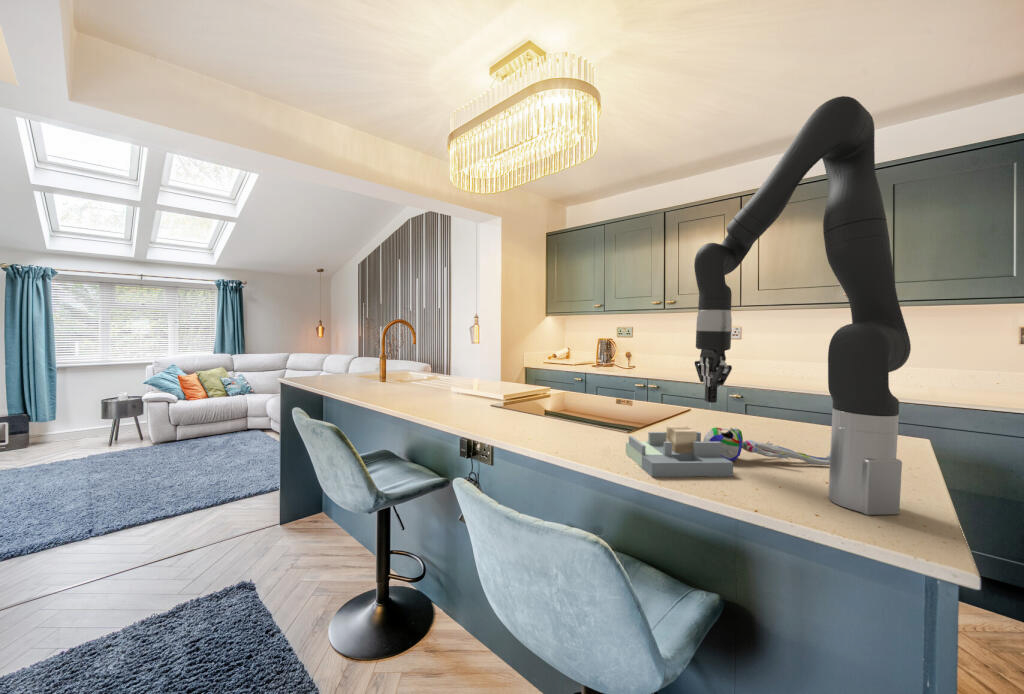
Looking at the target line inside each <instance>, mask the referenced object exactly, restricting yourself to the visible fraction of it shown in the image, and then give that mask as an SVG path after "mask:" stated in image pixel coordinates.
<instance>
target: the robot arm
mask: <svg viewBox="0 0 1024 694" xmlns="http://www.w3.org/2000/svg"><path fill="white" fill-rule="evenodd" d="M874 122H875V121H874V119H873V116H872V115H871V113H870V112H869V111H868V110H867V109H866V107H864V106H863V104H861V102H860V101H858V100H857V99H856V98H854V97H852V96H846V95H845V96H844V95H842V96H837V97H834V98H831V99H828V100H827V101H825V102H824V103H822V104H821V105H819V106H818V107H817V108H816V109H815V110H814V112H812V113H811V115H810V116H809V117H808V119H807V120H806V122H805V123H804V124H803V126H802V127H801V129H800V130H799V132H798V133H797V135H795V138H794V139H793V141H792V142H791V144H790V145H789V146H788V148H787V150H785V152H784V153H783V155H782V157H781V158H780V159H779V161H778V162H777V164H776V165H775V167H774V168H773V170H771V172H770V173H769V175H768V176H767V178H766V179H765V181H764V182H762V184H761V185H760V187H759V188H758V189H757V191H756V192H755V193H754V194H753V195H752V197H750V199H749V200H748V201H747V202H746V203H745V204H744V206H743V207H741V209H740V210H739V211H738V212H737V214H735V216H734V217H733V218H732V219H731V220H730V221H729V223H728V224H727V226H726V232H727V235H726V237H725V238H724V240H723V241H722V242H721V243H716V242H709V243H705V244H704V245H702V246H700V248H699V249H698V250H697V252H696V255H695V258H694V267H693V268H694V275H695V280H696V285H697V289H698V305H697V306H698V307H697V308H698V309H697V311H698V312H697V316H696V326H695V327H696V330H695V332H696V333H695V348H696V349H697V350H700V354H699V360H695V361H694V367H695V370H696V373H697V376H698V378H699V382H700V383H702V384H703V386H705V387H704V401H705V402H706V403H709V404H710V403H713V404H715V403H717V401H718V388H719V387H720V386H724V384H725V383H726V381H727V379H728V377H729V375H730V373H731V372H732V369H733V368H732V367H733V366H732V365H729V364H727V362H726V360H727V359H726V358H727V357H726V351H730V350H731V347H732V345H731V344H732V343H731V342H732V326H733V325H732V323H733V322H732V321H733V319H732V290H731V287H730V286H728V284H727V283H726V277H725V276H726V275H729V274H731V273H732V272H733V271H735V270H736V269H737V268H738V266H740V265H741V263H742V262H743V261H744V259H745V258H746V257H747V255H748V253H749V252H750V250H751V249H752V247H753V245H754V244H755V242H756V241H757V240H758V239H760V237H761V236H762V235H763V234H764V233H765V232H766V231H767V230H768V229H769V228H770V227H771V226H772V225H773V223H775V222H776V220H778V218H779V217H780V216H781V214H782V212H783V211H784V210H785V208H786V206H787V205H788V204H789V201H790V200H791V198H792V197H793V193H794V192H795V191H796V189H797V187H798V186H799V184H800V183H801V181H802V180H803V179H804V177H805V176H806V175H807V174H808V173H809V171H810V170H811V169H812V168H813V167H814V166H815V165H816V164H817V163H818V162H819V161H820V160H822V161H823V162H822V163H823V166H824V169H825V173H826V178H827V185H828V195H827V200H826V206H825V209H824V215H823V222H822V231H823V241H824V248H825V254H826V258H827V262H828V264H829V267H830V269H831V271H832V272H833V275H834V276H835V277H836V279H837V281H838V282H839V284H840V286H841V288H842V290H843V291H844V293H845V294H846V295H845V296H846V298H847V300H848V304H849V307H850V308H849V309H850V313H851V323H848V324H845V325H843V326H842V327H840V328H839V329H837V330H836V331H835V332H834V333H833V335H832V337H831V339H830V341H829V344H828V350H827V351H828V352H827V387H828V391H829V395H830V397H831V400H832V416H831V430H830V431H831V432H830V434H831V436H830V451H829V454H830V465H829V474H828V496H827V497H828V499H829V501H831V502H832V503H834V504H836V505H838V506H841V507H843V508H846V509H849V510H853V511H856V512H858V513H859V512H860V513H862V514H863V515H867V516H869V515H871V516H872V515H900V506H901V492H902V491H901V489H902V469H903V468H902V467H903V462H902V460H901V459H899V458H897V451H898V435H899V434H898V431H899V420H900V419H899V418H900V415H899V414H900V401H899V399H898V398H897V397H896V396H895V395H893V394H892V392H891V390H890V382H889V380H890V379H889V376H890V375H889V374H890V373H892V372H894V371H897V370H899V369H901V368H902V367H903V366H904V365H905V364H906V363H907V361H908V360H909V358H910V354H911V350H912V348H911V340H910V335H909V332H908V328H907V325H906V323H905V318H904V315H903V313H902V309H901V306H900V301H899V298H898V293H897V288H896V281H895V278H896V277H895V271H894V265H893V258H892V251H891V243H890V241H891V239H890V235H889V227H888V221H887V215H886V211H885V206H884V203H883V202H884V201H883V198H882V193H881V189H880V185H879V182H878V177H877V173H876V164H875V163H876V160H875V158H876V157H875V155H876V154H875V153H876V151H875V132H876V131H875V123H874Z"/></svg>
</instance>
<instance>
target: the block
mask: <svg viewBox="0 0 1024 694" xmlns="http://www.w3.org/2000/svg"><path fill="white" fill-rule="evenodd" d="M665 432H666V442H671V443H672V451H674V452H675V453H693V442H696V438H697V432H698V431H697V430H695V429H693V428H692V427H689V426H685V425H684V426H681V425H680V426H677V425H674V426H671V425H669V426H666V431H665Z"/></svg>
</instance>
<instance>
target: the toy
mask: <svg viewBox="0 0 1024 694" xmlns="http://www.w3.org/2000/svg"><path fill="white" fill-rule="evenodd" d="M722 431H725V432H722ZM703 437H704V438H703V440H702V442H721V456H722V457H724V458H726V459H728V460H729V461H731V462H733V461H736V460H737V459H738V458H739V457H741V453H742V450H743V451H746V452H748V453H754V454H758V455H761V456H764V457H769V458H778V459H786V460H789V461H791V459H793V460H794V459H795V460H796V459H797V460H801V461H803V462H806V463H808V464H811V465H818V466H830V453H828V455H827V456H826V457H820V456H813V455H810V454H807V453H802V452H797V451H794V450H792V449H790V448H787V447H783V446H779V445H776V444H774V443H770V441H767V442H765V443H763V442H761V441H755V440H751V439H749V440H743V439H744V438H743V431H741V429H739V428H737V427H735V428H732V427H730V428H725V427H723V428H722V427H718V426H717V427H713V428H711V429H709V430H708V431H707V432H706V433H705V434H704V436H703Z"/></svg>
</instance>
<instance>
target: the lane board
mask: <svg viewBox="0 0 1024 694" xmlns="http://www.w3.org/2000/svg"><path fill="white" fill-rule="evenodd" d="M666 432H667V431H648V439H647V441H640V440H638V439H637V438H636V437H634V436H633V435H628V441H625V454H626V455H627V457H629V458H630V457H631V458H632V459H633V460H632V459H631V458H630V459H631V460H632V461H633V462H635V463H636V465H638V466H639V467H640V468H641V469H642V470H643V471H645V472H646V473H647V475H649V477H651V478H672V477H673V478H675V477H676V478H678V477H679V478H683V477H684V478H686V477H689V478H690V477H691V478H692V476H708V477H734V462H733V461H729V460H728V459H726V458H724V457H722V456H721V442H703V441H702V432H700V431H697V438H696V442H693V453H675V452H674V451H672V443H671V442H666Z"/></svg>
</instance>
